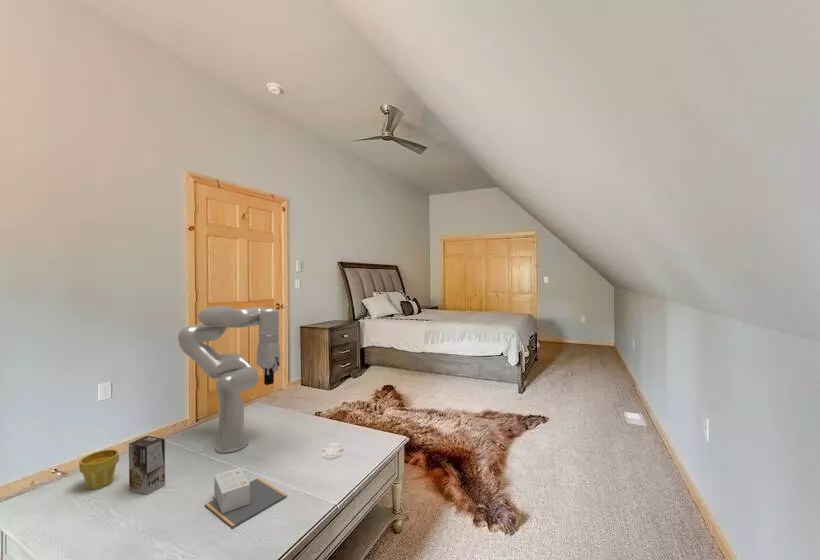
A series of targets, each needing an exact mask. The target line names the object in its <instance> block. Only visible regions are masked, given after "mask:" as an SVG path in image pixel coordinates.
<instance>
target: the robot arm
mask: <svg viewBox="0 0 820 560" xmlns="http://www.w3.org/2000/svg"><path fill="white" fill-rule="evenodd" d="M279 314H280V312H279V309H277V308H275V307H274V308H273V307H269V308H268V307H263V306H254V307H245V308H244V307H243V308H235V307H232V306H227V305H221V306H209V307H206V308H203V309H202V310H200V311H199V313H198V314H197V315H198V316H197V317H198V318H197V319H198V321H199V323H198V324H192V325H191V324H190V325H187V326H185V327H183V328H182V329H181V330H180V331H179V333H178V336H177V338H178V341H177V342H178V344H179V347H180V349H181V350H182V352H183V353H184V354H185V355H186V356H188V357H189V358H190V359H191V360H192V361H194V362H195V363H196V365H198V367H200V369H201V370H202V371H203V372H204V373H205V374H206V375H207V376H208V377H209V378H211V379H215V380H216V383H215V389H216V394H217V399H218V434H217V437H218V442H217V443H216V444H215V446H214V451H215V452H216V453H219V454H229V453H230V454H231V453H235V452H238V451H240V450H242V449H244V448H245V447H247V445H248V443H249V440H248V438H246V437H245V420H244V419H245V406H244V405H245V403H244V400H243V398H242V397H241V395H240V393H243V392H245V391H247V390H250V389H253V388H254V387H256V386H257V384H258V382H259V375H258V373H257V371H256V369H255V368H254V367H253V366H252V365H251V364H250V363H249V362H248V361H247V360H246V359H245V357H243V356H242V355H240V354H238V353H236V352H235V353H234V352H231V353H225V354H219V352H217V351H216V350H215V349H214V348H213V347H211V346H210V345H207V344H205V343H207V342H212V341H216V340H218V339H220V338H221V337H222V336H223V334H225V332H226V331H227V329H229V328H240V329H241V328H249V327H254V326H258V343H257V349H256V365H257V367H260V368H261V369H262V372H263V376H264V377H263V378H264V379H263V380H264V381H263V384H264V385H266V386H270V385H273V384H274V383H275V380H274V375H275V373H276V372H278V370H279V366H281V352H280V351H281V350H280V344H279V342H280V336H279V335H280V321H279V320H280V318H279V317H280V315H279Z"/></svg>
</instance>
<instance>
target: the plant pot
mask: <svg viewBox="0 0 820 560" xmlns="http://www.w3.org/2000/svg"><path fill="white" fill-rule="evenodd" d="M119 460H120V452H119V450H118V449H114V448H113V449H112V448H111V449H103V450H98V451H94V452H92V453H90V454H88V455H87V454H86V455H85V456H84V457H82V458H81V459H80V460H79V464H78V465H79V472H80V473H81V474H82V476H83V478H84V481H85V484H86V488H87V489H88V490H96V489H100V488H103V487H105V486H108V485H110V484H111V483H112V482H113V479H114V475H115V471H116V468H117V467H116V466H117V464H118V463H119Z"/></svg>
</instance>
